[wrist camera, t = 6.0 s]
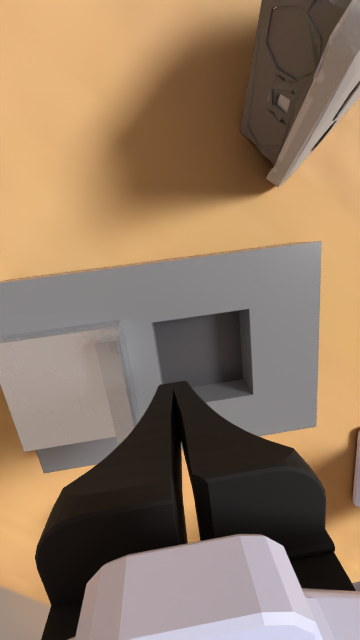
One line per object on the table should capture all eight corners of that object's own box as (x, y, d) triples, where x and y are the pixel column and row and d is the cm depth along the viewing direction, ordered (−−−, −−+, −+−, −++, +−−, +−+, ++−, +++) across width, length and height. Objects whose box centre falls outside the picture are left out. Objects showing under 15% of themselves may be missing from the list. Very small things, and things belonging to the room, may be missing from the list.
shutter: (120, 320, 14) (114, 332, 12) (139, 419, 16) (137, 445, 14) (0, 337, 14) (-28, 353, 12) (34, 436, 16) (14, 466, 13)
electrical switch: (272, 194, 16) (409, 92, 7) (209, 130, 15) (266, -88, 6) (391, 59, 14) (768, -302, 5) (330, -19, 14) (647, -600, 4)
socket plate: (297, 242, 16) (321, 241, 14) (296, 404, 20) (316, 426, 17) (7, 279, 15) (-20, 285, 13) (58, 444, 19) (43, 473, 16)
